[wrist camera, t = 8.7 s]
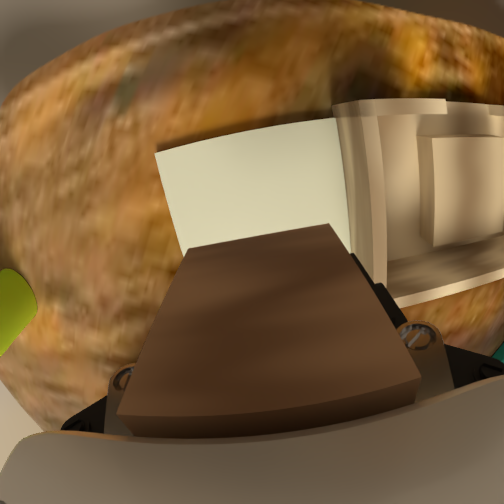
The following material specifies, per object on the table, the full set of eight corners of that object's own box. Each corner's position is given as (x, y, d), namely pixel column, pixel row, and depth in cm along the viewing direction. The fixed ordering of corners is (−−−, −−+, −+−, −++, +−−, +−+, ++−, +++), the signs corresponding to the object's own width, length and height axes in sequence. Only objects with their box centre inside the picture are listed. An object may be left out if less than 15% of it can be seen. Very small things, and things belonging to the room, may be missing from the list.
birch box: (518, 108, 15) (560, 114, 10) (515, 235, 19) (550, 259, 15) (331, 105, 16) (358, 100, 12) (350, 272, 21) (372, 314, 16)
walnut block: (328, 223, 10) (421, 376, 4) (337, 333, 12) (380, 483, 6) (188, 248, 11) (115, 414, 4) (222, 352, 13) (205, 503, 6)
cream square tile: (345, 116, 17) (348, 116, 16) (360, 284, 21) (362, 287, 21) (157, 152, 18) (154, 153, 17) (203, 310, 22) (202, 314, 22)
